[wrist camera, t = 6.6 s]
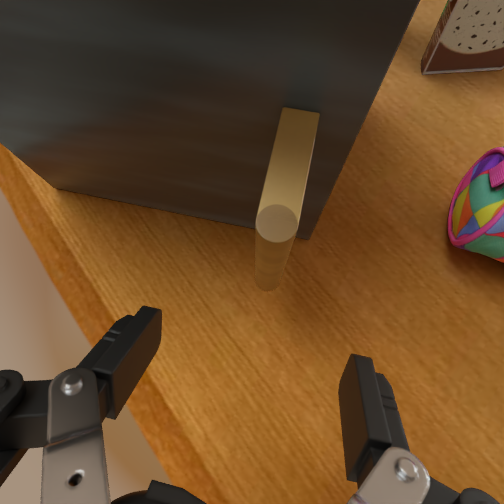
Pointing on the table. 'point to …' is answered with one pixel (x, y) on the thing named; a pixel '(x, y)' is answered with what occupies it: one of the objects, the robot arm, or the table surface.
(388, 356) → the table surface
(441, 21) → the food container
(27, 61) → the door
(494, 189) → the pencil case
